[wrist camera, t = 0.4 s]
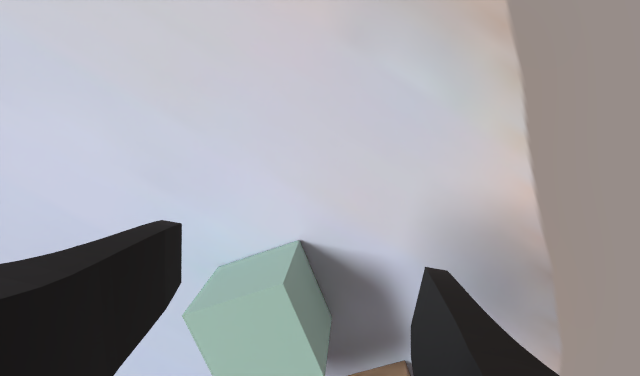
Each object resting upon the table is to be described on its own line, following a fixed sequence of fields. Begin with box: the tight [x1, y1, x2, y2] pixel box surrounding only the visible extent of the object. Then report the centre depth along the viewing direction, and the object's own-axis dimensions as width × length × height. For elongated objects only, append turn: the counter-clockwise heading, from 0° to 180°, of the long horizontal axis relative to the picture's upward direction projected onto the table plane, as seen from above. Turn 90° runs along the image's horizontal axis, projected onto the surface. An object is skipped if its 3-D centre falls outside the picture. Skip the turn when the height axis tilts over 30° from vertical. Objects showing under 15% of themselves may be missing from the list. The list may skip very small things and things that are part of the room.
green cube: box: [182, 240, 332, 376], centre depth 21 cm, size 5×5×5 cm
